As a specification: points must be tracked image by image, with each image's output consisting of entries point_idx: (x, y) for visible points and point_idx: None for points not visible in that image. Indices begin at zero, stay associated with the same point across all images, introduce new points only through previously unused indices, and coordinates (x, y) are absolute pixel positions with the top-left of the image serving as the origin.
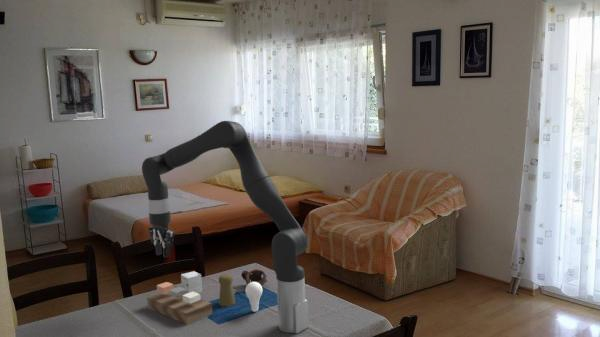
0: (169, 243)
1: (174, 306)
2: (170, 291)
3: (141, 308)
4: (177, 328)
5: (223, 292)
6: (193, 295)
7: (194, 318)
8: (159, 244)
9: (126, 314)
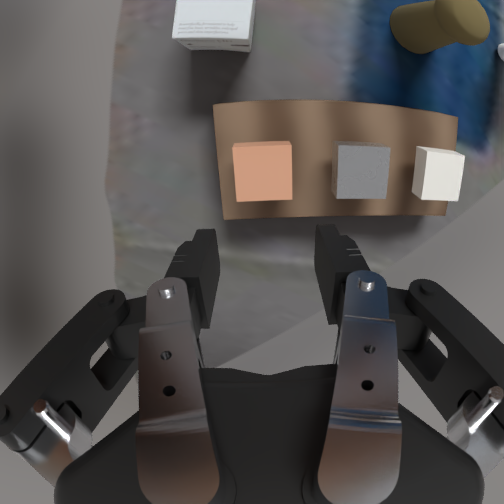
0: (428, 332)
1: (380, 204)
2: (344, 197)
3: (218, 221)
4: (421, 228)
5: (447, 44)
6: (453, 178)
7: None
8: (195, 300)
9: (226, 268)
